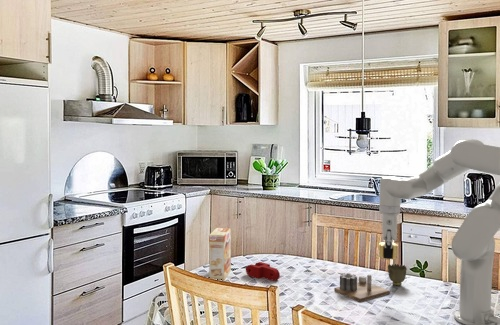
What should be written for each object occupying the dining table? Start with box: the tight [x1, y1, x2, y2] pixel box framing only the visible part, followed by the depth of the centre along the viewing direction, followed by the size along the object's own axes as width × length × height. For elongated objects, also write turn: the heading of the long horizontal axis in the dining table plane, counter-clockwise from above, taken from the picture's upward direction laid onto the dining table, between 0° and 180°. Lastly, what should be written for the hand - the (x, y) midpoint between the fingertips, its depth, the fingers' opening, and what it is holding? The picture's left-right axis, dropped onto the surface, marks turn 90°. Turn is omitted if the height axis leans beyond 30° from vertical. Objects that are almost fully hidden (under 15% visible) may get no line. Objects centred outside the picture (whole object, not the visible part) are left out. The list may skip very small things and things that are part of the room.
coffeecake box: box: [208, 227, 232, 281], centre depth 209 cm, size 15×7×20 cm, turn 171°
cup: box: [387, 263, 408, 287], centre depth 194 cm, size 8×7×8 cm
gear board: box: [333, 272, 391, 303], centre depth 186 cm, size 14×16×7 cm
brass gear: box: [378, 241, 399, 261], centre depth 180 cm, size 7×7×5 cm
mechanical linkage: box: [245, 261, 281, 282], centre depth 206 cm, size 16×7×5 cm, turn 44°
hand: (388, 255), depth 180 cm, fingers closed on brass gear, 6 cm apart
